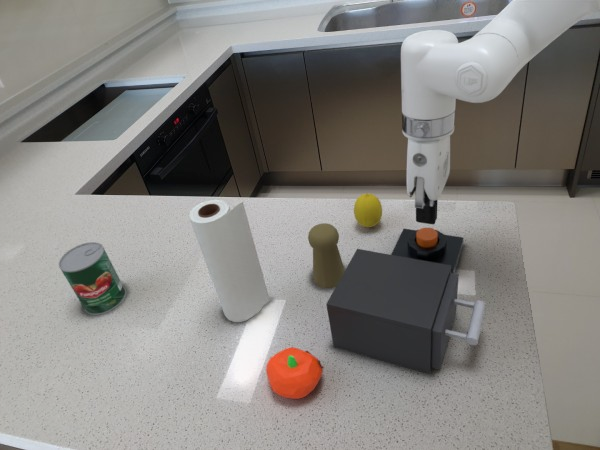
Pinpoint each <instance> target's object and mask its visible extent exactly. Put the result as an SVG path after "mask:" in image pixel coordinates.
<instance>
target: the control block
mask: <svg viewBox="0 0 600 450" xmlns="http://www.w3.org/2000/svg"><path fill="white" fill-rule="evenodd" d="M418 230H419V229H409V228H403V229H402V231H401V232H400V235H399V237H398V239H397V241H396V244H395V246H394V248H393V250H392V252H391V254H390V255H395V256H401V257H406V258H412V259H417V260H423V261H429V262H434V263H440V264H445V265H451V273H454V274H456V270H457V267H458V265H459V261H460V257H461V255H462V251H463V248H464V237H462V236H456V235H451V234H450V235H449V234H444V233H443V232H441V231H440V230H438V229H435V230H436V231H437V233H438V242H437V244H436V245H435V246H434V247H428V248H426V247H421V246H419V245H418V244H417V242H416V233H417V231H418Z"/></svg>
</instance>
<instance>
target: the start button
mask: <svg viewBox="0 0 600 450" xmlns="http://www.w3.org/2000/svg"><path fill="white" fill-rule="evenodd" d="M417 230H418V231H417V233H416V242H417V244H418V245H419V246H421V247H426V248H428V247H434V246H435V245H436V244H437V242H438V233H437V231H438V230H437V229H434V228H432V227H422V228H419V229H417ZM436 230H437V231H436Z"/></svg>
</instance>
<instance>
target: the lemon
mask: <svg viewBox="0 0 600 450" xmlns="http://www.w3.org/2000/svg"><path fill="white" fill-rule="evenodd" d="M353 215H354V218H355V220H356V222H357V223H358V224H359V225H360V226H362V227H364V228H372V227H375V226H376V225H377V224H379V223H380V222H381V220H382V216H383V207H382V203H381V200H380V199H379V198H378V197H377V196H376V195H375V194H372V193H369V192H368V193H363V194H360V195H359V196H358V197H357V198H356V200H355V201H354V206H353Z"/></svg>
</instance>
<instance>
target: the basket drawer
mask: <svg viewBox="0 0 600 450" xmlns="http://www.w3.org/2000/svg"><path fill="white" fill-rule="evenodd" d="M459 279H460V278H459V273H455V274H454V273H450V275H449V279H448V282H447V285H446V288H445V291H444V294H443V297H442V301H441V304H440V307H439V309H438V312H437V315H436V319H435V322H434V325H433V328H432V359H431V367H432V369H435V370H439V371H440V370H441V368H442V364H443V360H444V357H445V353H446V349H447V346H448V343H449V340H450V337H452V338H455V339H458V340H462V341H466V343H467V344H468V345H470V346H477V345H478V343H479V339H480V334H481V331H482V325H483V321H484V317H485V311H486V307H487V304H486V302H484V301H483V300H476V301H474V302H472V301H467V300H463V299H458V291H459ZM458 306H460V307H465V308H470V309H472V313H471V317H470V322H469V326H468V329H467V332H466V333H463V332H459V331H455V330H452V329H453V325H454V321H455V318H456V314H457V307H458Z"/></svg>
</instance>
